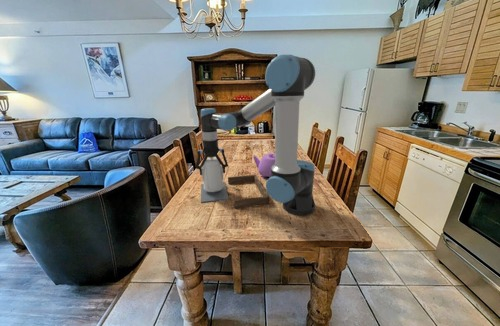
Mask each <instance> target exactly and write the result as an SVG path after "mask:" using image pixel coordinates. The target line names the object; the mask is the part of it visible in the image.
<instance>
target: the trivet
mask: <svg viewBox="0 0 500 326" xmlns="http://www.w3.org/2000/svg"><path fill="white" fill-rule="evenodd" d="M228 195H229V193H228V191H227V187H226V182H224V181H223V189H222V190H220V191H217V192H207V191H205V190H204V183H201V185H200V203H201V204H202V203H204V204H205V203H211V202H221V201H229V196H228Z"/></svg>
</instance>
